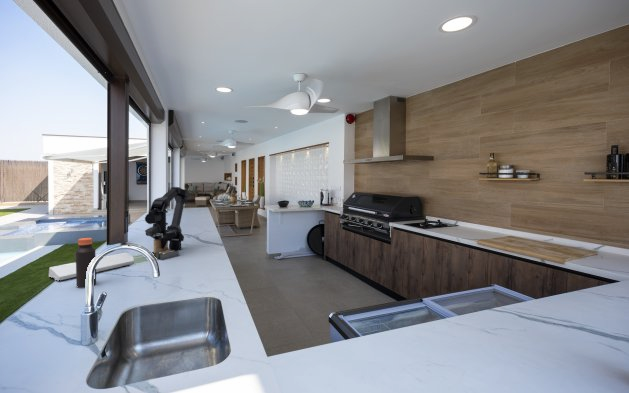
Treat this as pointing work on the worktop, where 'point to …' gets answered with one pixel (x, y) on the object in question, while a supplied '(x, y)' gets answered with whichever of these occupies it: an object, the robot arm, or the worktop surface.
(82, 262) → the bottle
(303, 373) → the worktop surface
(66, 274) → the decorative molding
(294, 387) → the worktop surface
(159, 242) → the walnut sheet
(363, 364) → the worktop surface
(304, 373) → the worktop surface
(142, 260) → the sage stand
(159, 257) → the offcut rack
